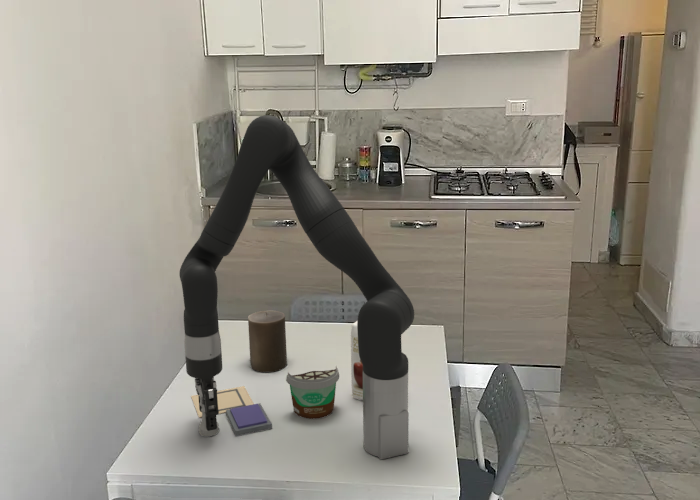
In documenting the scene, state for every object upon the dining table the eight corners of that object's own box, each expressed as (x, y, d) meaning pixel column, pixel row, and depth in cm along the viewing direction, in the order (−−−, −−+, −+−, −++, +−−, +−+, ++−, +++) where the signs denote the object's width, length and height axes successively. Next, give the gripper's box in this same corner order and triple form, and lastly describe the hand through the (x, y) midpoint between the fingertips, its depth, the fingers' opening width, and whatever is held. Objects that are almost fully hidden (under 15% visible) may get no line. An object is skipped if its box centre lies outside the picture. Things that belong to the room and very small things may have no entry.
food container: (292, 425, 151) (290, 384, 148) (287, 412, 157) (285, 372, 154) (346, 417, 154) (345, 376, 152) (339, 404, 160) (338, 365, 157)
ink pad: (272, 428, 150) (271, 421, 149) (236, 436, 147) (235, 429, 147) (260, 407, 159) (260, 401, 158) (226, 414, 156) (225, 408, 156)
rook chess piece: (222, 427, 151) (219, 394, 149) (216, 438, 147) (213, 404, 144) (202, 426, 151) (199, 393, 149) (196, 437, 147) (193, 403, 145)
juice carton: (363, 385, 169) (363, 313, 164) (394, 393, 165) (395, 320, 159) (348, 398, 163) (347, 324, 158) (379, 407, 158) (379, 331, 153)
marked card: (255, 406, 159) (255, 405, 159) (199, 417, 155) (199, 416, 155) (244, 386, 169) (244, 385, 169) (191, 396, 165) (191, 395, 165)
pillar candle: (285, 372, 177) (283, 317, 173) (247, 372, 177) (244, 318, 173) (288, 357, 186) (286, 305, 182) (252, 357, 186) (250, 305, 182)
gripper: (227, 361, 139) (232, 432, 143) (214, 336, 152) (219, 401, 156) (190, 367, 136) (196, 439, 141) (180, 341, 149) (185, 407, 154)
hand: (208, 419), depth 149 cm, fingers open, 8 cm apart
